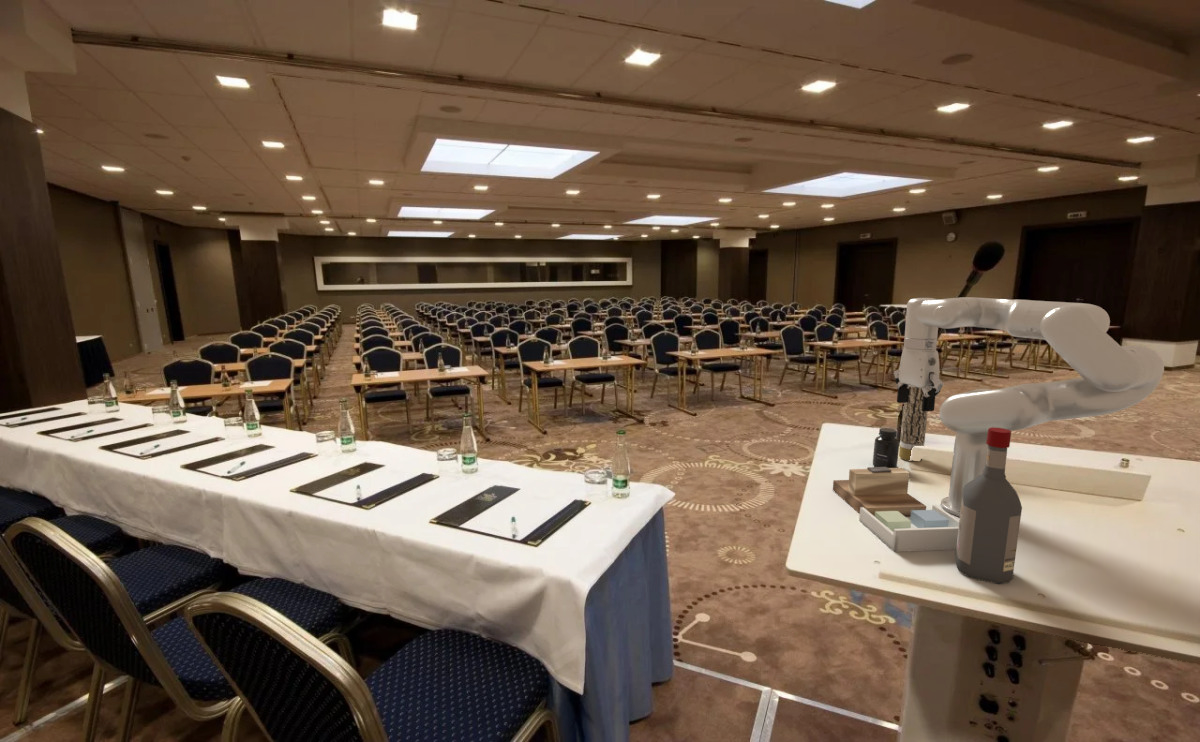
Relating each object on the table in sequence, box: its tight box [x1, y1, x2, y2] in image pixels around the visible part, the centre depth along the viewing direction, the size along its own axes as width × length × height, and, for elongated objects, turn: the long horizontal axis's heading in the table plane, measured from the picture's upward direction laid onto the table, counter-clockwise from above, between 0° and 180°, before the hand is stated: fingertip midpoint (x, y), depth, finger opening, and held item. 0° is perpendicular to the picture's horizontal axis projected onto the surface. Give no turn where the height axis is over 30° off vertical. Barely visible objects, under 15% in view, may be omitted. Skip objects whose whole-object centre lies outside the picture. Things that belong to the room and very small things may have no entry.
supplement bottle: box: [872, 427, 900, 468], centre depth 167 cm, size 7×7×12 cm
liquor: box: [955, 427, 1023, 585], centre depth 107 cm, size 9×9×30 cm
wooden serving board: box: [832, 479, 927, 517], centre depth 142 cm, size 18×15×3 cm
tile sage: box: [875, 511, 911, 532], centre depth 127 cm, size 6×6×3 cm
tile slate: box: [910, 509, 949, 528], centre depth 127 cm, size 6×6×3 cm
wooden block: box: [848, 466, 910, 496], centre depth 141 cm, size 4×14×7 cm, turn 92°
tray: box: [859, 504, 960, 553], centre depth 125 cm, size 15×19×5 cm
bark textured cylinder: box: [898, 385, 930, 462], centre depth 172 cm, size 7×7×25 cm
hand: (914, 406), depth 146 cm, fingers open, 9 cm apart
